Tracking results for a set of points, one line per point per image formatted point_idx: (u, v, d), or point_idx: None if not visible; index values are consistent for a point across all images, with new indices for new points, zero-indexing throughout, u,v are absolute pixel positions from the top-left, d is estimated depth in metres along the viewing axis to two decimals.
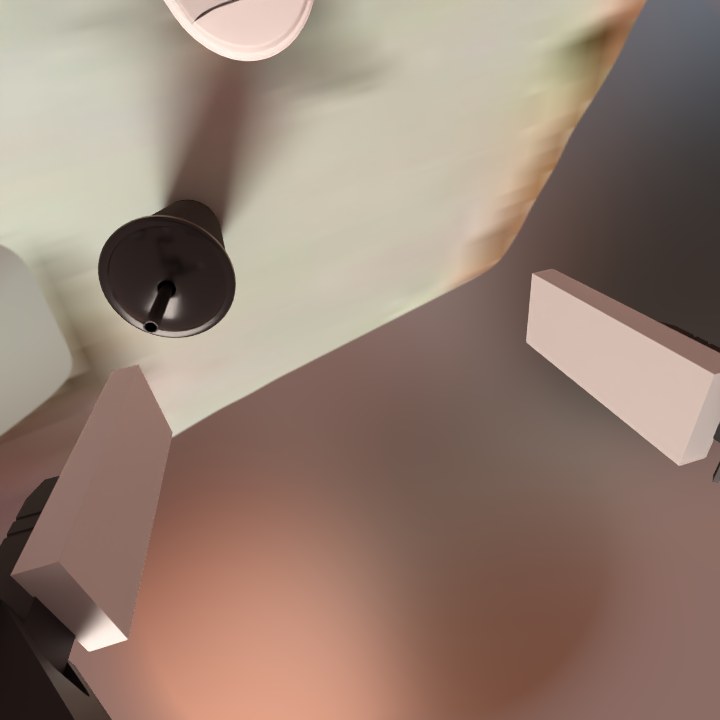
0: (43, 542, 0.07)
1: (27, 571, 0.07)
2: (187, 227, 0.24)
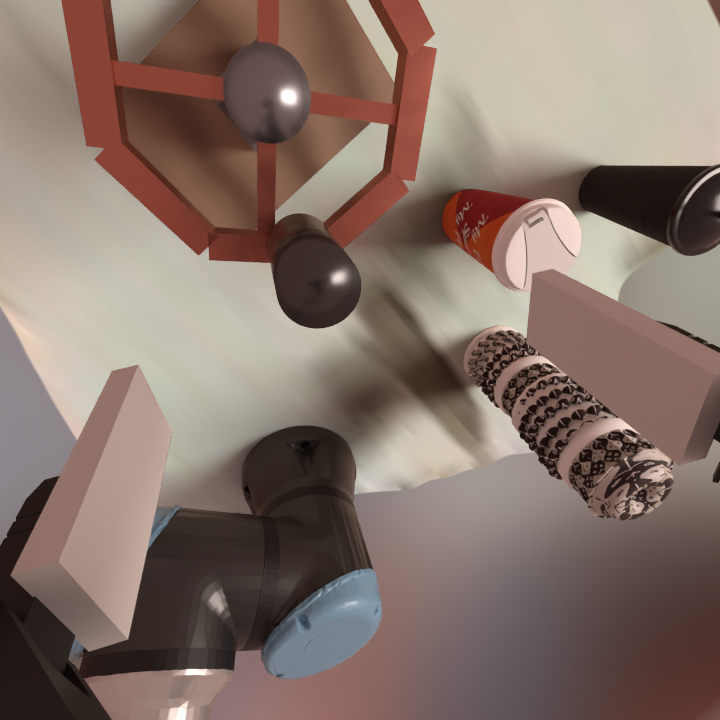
0: (43, 542, 0.07)
1: (27, 571, 0.07)
2: (677, 216, 0.35)
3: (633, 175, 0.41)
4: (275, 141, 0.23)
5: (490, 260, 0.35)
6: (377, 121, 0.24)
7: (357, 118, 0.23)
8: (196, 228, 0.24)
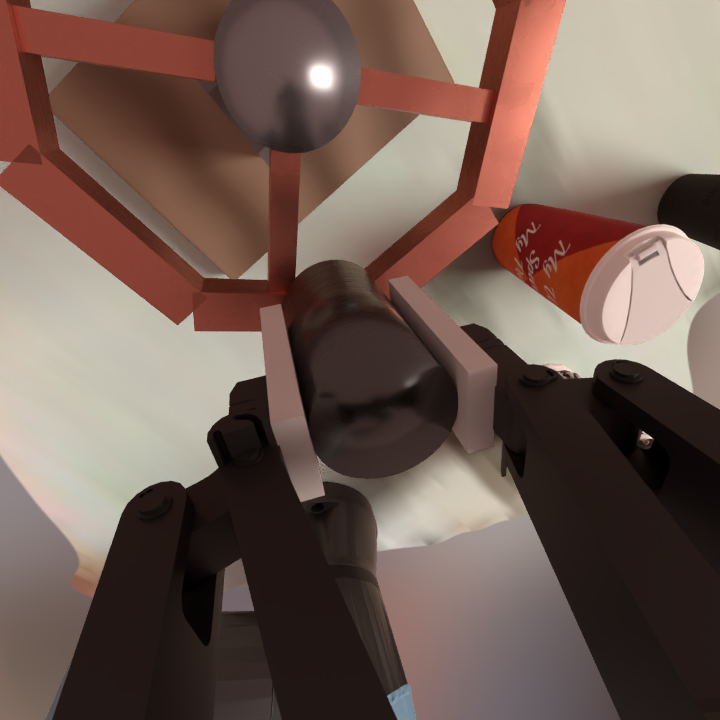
0: (283, 406, 0.10)
1: (282, 421, 0.09)
2: None
3: None
4: (300, 149, 0.14)
5: (573, 303, 0.27)
6: (460, 117, 0.15)
7: (430, 112, 0.15)
8: (173, 286, 0.15)
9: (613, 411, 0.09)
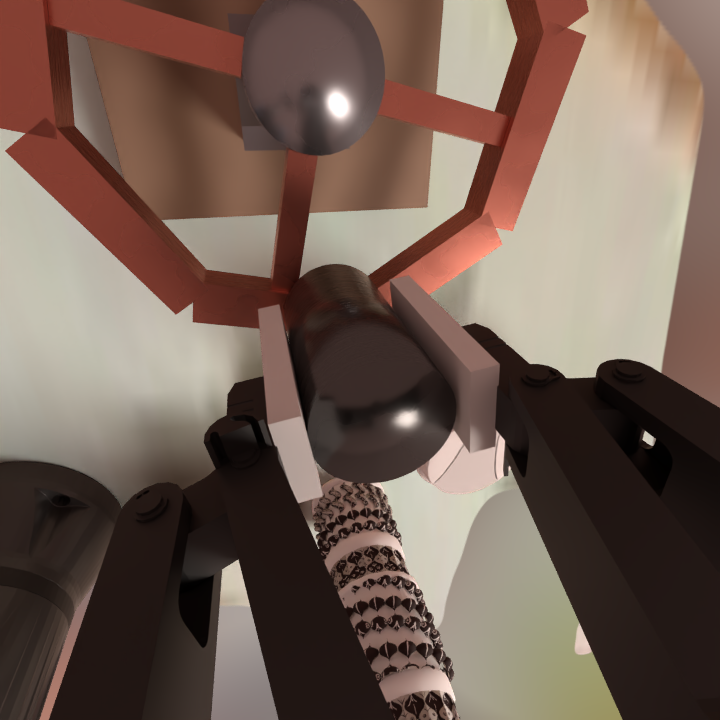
0: (280, 407, 0.10)
1: (280, 422, 0.09)
2: None
3: None
4: (318, 152, 0.14)
5: None
6: (475, 138, 0.15)
7: (447, 130, 0.15)
8: (175, 275, 0.15)
9: (616, 410, 0.09)
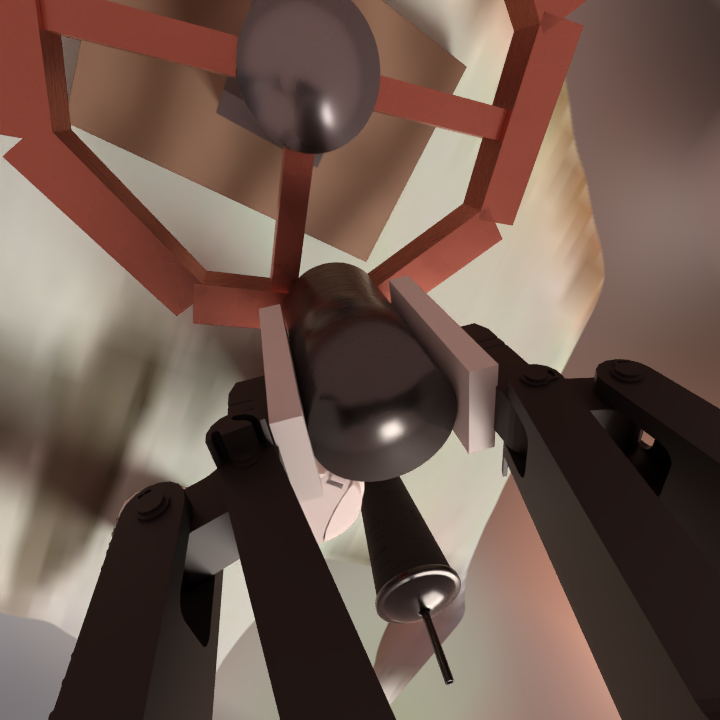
0: (282, 406, 0.10)
1: (281, 421, 0.09)
2: (404, 580, 0.34)
3: (406, 506, 0.41)
4: (314, 150, 0.14)
5: None
6: (473, 132, 0.15)
7: (444, 125, 0.15)
8: (175, 276, 0.15)
9: (614, 411, 0.09)
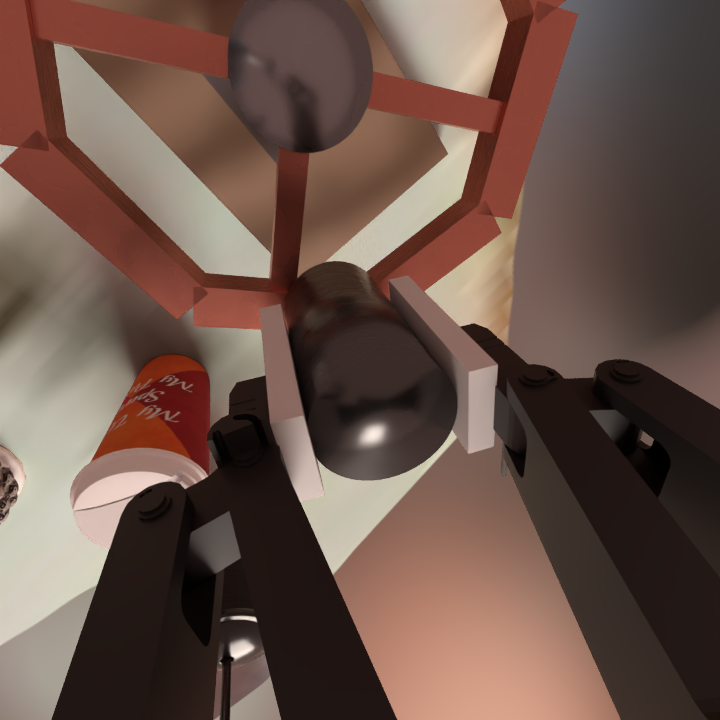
0: (282, 406, 0.10)
1: (282, 421, 0.09)
2: None
3: None
4: (309, 150, 0.14)
5: (112, 447, 0.24)
6: (469, 126, 0.15)
7: (439, 120, 0.15)
8: (174, 280, 0.15)
9: (614, 411, 0.09)
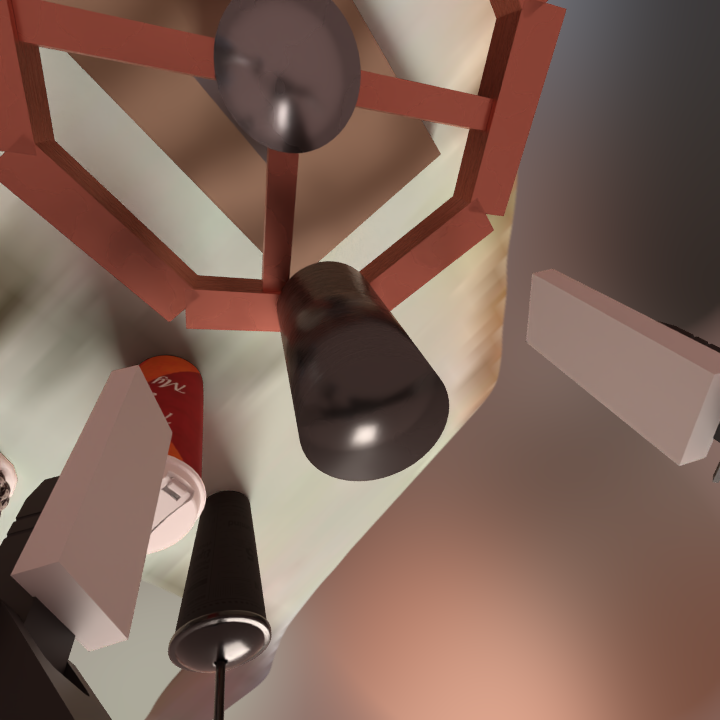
0: (43, 542, 0.07)
1: (27, 571, 0.07)
2: (211, 622, 0.31)
3: (245, 543, 0.38)
4: (298, 150, 0.14)
5: None
6: (458, 124, 0.15)
7: (429, 118, 0.15)
8: (165, 282, 0.15)
9: None
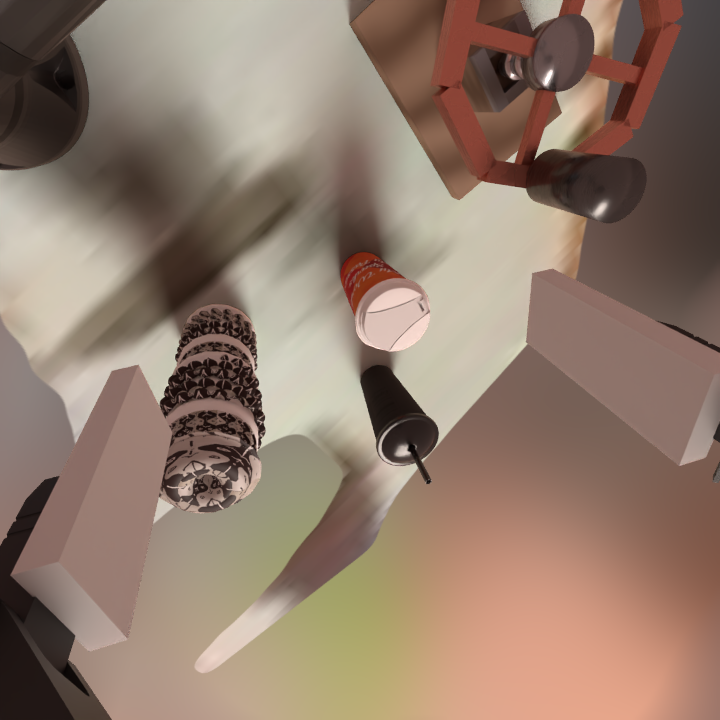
0: (43, 542, 0.07)
1: (27, 571, 0.07)
2: (409, 418, 0.47)
3: (406, 390, 0.55)
4: (559, 90, 0.30)
5: (380, 281, 0.40)
6: (625, 80, 0.32)
7: (613, 76, 0.31)
8: (485, 155, 0.32)
9: None
